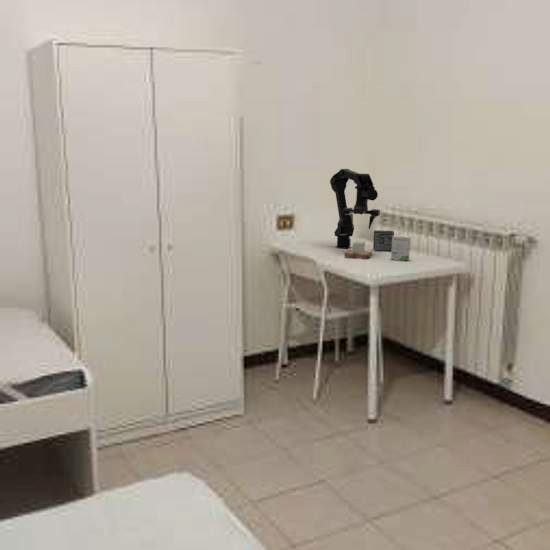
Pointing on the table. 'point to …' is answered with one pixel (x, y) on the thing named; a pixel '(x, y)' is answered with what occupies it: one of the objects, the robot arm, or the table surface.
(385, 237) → the small box
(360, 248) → the sage cube
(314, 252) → the table surface
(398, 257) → the ink box
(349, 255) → the brown wooden tray
